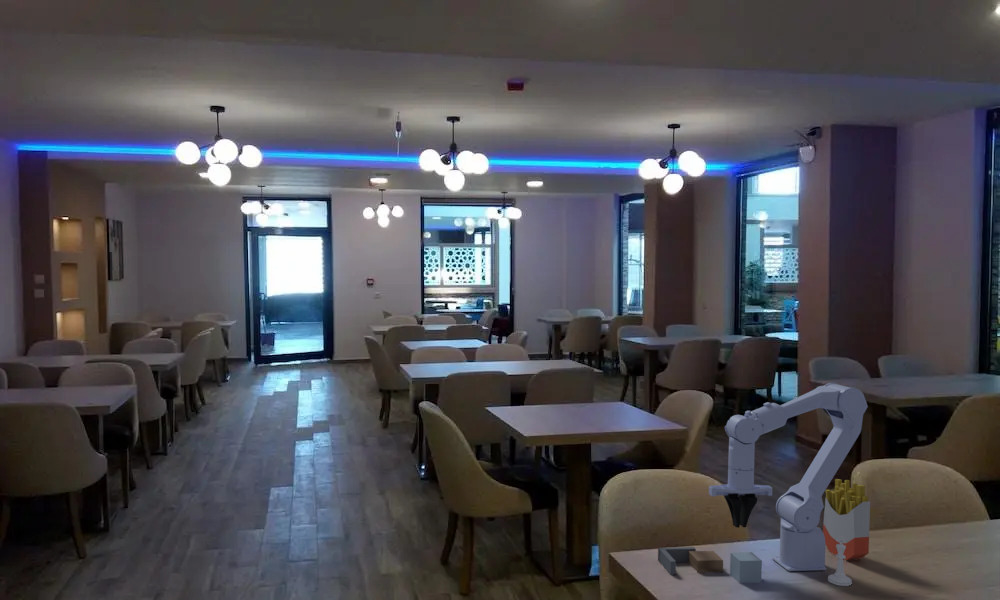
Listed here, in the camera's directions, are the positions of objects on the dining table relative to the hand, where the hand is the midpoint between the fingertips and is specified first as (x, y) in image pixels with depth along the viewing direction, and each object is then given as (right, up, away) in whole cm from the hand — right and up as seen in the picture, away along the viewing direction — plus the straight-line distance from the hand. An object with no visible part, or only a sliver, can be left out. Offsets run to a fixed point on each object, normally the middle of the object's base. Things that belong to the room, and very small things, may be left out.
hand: (739, 526), depth 175 cm
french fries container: (+28, -10, +8) cm, 31 cm away
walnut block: (-8, -10, -1) cm, 13 cm away
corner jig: (-13, -9, -1) cm, 16 cm away
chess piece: (+20, -10, -8) cm, 24 cm away
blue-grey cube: (-1, -10, -7) cm, 12 cm away
